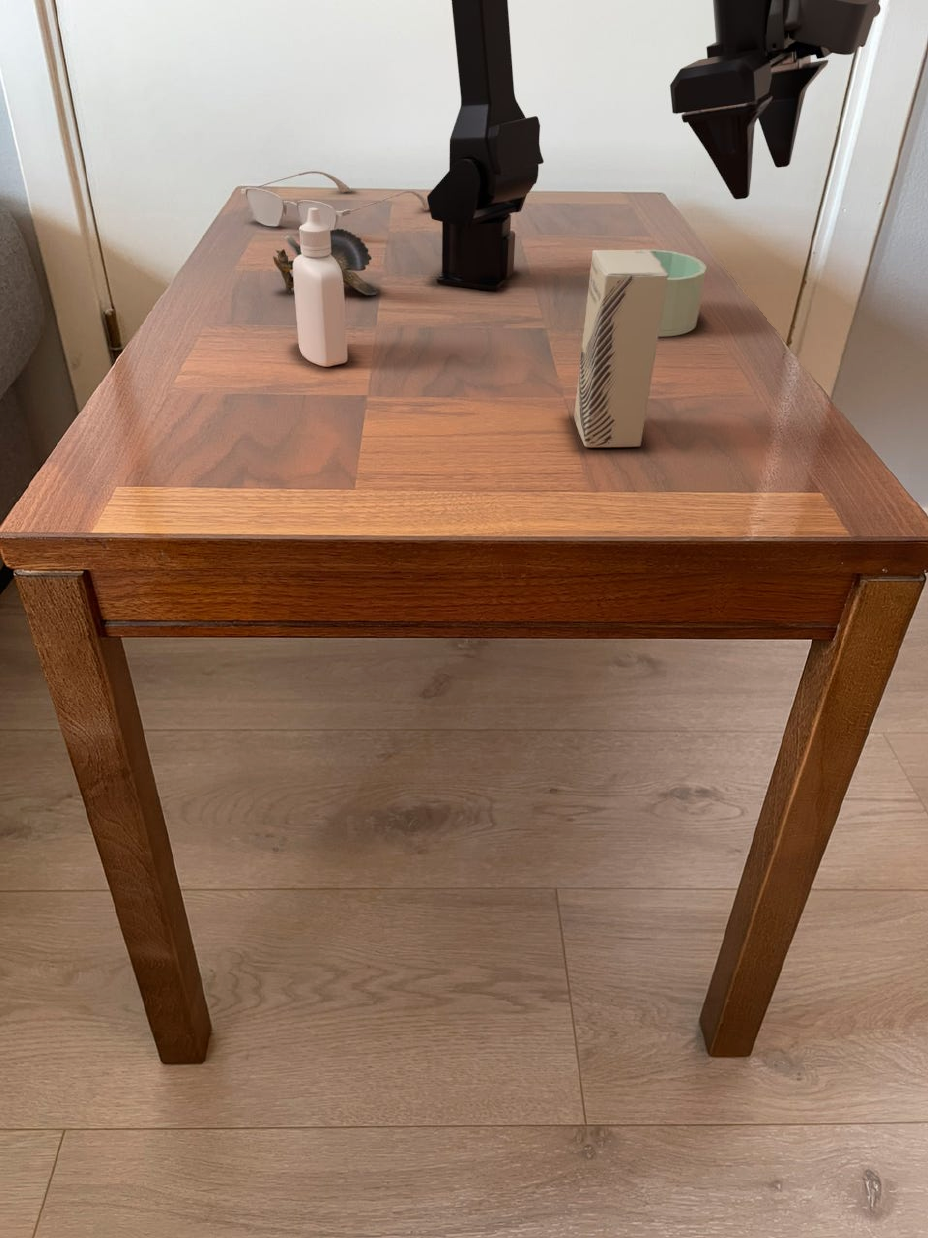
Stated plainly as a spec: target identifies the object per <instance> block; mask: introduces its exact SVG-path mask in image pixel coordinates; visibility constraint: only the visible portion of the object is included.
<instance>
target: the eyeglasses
mask: <svg viewBox="0 0 928 1238" xmlns="http://www.w3.org/2000/svg"><path fill="white" fill-rule="evenodd" d="M308 174H318V175H323V176H325V177H327V178H328V179H330V181H331V180H332V182H334V184H335V186H336V187H337V188H338V191H339V192H341V193H346V192H349V191H350V187H349V186H348V185H347V184H346V183H345V182H343V181H342V180H340V179H339V178H338V177H336V176H333V175H332V174H329V173H326V172H323V171H318V170H310V171H305V172H299V173H298V174H294V175H291V176H286V177H284V178H280V179H277V180H273V181H270V182H266V183H263V184H259V185H257V186H253V187H252V186H248V187H244V188H241V189H240V193H241V194H242V195H245V199H246V202H247V205H248V207H249V210H250V212H251V214H252V216H253V218H254V219H255V221H257V222H258V223H259V224H261V225H263V226H267V227H274V228H275V227H278V226H280V224H281V222H282V220H283V218H284V215H286V216H287V212H288V209H287V208H288V207H287V204H290V205H293V206H295V207H296V213H297V216H298V218H299V222H300V225H303V224H305V223H306V222H307V219H308V211H309V208H318V212H319V216H320V220H321V222H322V223H324V224H326V225H328V226H329V227H330V230H336V227H337V224H338V219H339V218H338V217H341V218H343V217H345V216H349V215H351V212H354V211H357V210H360V209H363V208H366V207H370V206H373V205H375V204H378V203H381V202H384V201H387V200H389V199H392V198H395V197H399V196H400V195H403V194H413V196H414V195H415V196H416V197H417V198H418V199H419V200H420V202H421V205H422V208H423V209H424V211H428V210H430V209H429V205H428V201H427V198H426V197H424V196H423V195H421V194H420V193H418V192H416V191H415V190H411V189H409V190H402V191H400V192H397V193H396V194H394V195H391V196H389V197H386V198H383V199H381V200H378V201H374V202H372V203H369V204H365V205H363V206H360V207H356V208H353V209H349V208H347V209H344V210H336V209H335V208H334V207H333V206H332V205H330V204H327V203H324V202H320V201H316V200H308V199H302V200H299V201H297V203H296V202H295V201H291V200H288V201H287V200H285V201H284V200H283V198H282V197H281V196H280V195H278V194H277V193H275V192H272V191H269V190H266V189H262V188H261V187H264V186H266V185H270V184H273V183H276V182H280V181H284V180H286V179H291V178H293V177H299V176H303V175H308Z"/></svg>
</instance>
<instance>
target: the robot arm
mask: <svg viewBox="0 0 928 1238" xmlns="http://www.w3.org/2000/svg"><path fill="white" fill-rule="evenodd" d="M508 2H509V1H508V0H451V10H452V11H451V12H452V19H453V30H454V40H455V51H456V62H457V70H458V72H457V73H458V81H459V82H458V83H459V90H460V91H459V94H460V108H459V110H458V114H457V117H456V120H455V123H454V126H453V129H452V132H451V135H450V138H449V159H448V161H449V163H448V165H449V166H448V167H449V169H448V171H447V173H446V174H445V175H444V176H443V177H442V178H441V179H440V181H439V182H438V183H437V184H436V185H435V186H434V188H432V190H431V191H430V192H429V194H428V195H427V196H426V200H427V201H428V205H429V209H428V210H429V213H430V217H431V219H432V220H434V221H438V222H441V225H442V226H441V227H442V228H441V272H440V273H439V274H438V275H437V276H436V277H435V282H436V283H437V284H441V285H442V284H443V285H450V286H458V287H466V288H473V289H481V290H487V291H488V290H489V291H497V290H499V289H500V287H501V286H502V285H503V284H504V283H505V282H506V281H507V280H508V279H509V277H510V276H511V275H513V273H514V270H515V269H514V268H515V248H516V232H515V231H514V230H511V222H512V214H514V213H520V212H521V211H522V210H523V206H524V204H525V201H526V198H527V195H528V194H529V193H530V192H531V190H532V189H533V187H534V185H536V184H537V182H538V177H539V165H542V164H544V162H545V161H544V158H543V155H542V151H541V146H540V134H541V124H540V123H541V122H540V118H539V117H538V116H536V115H534V116H530V117H526V116H525V114H524V112H523V110H522V109H521V106H520V105H519V103H518V101H517V99H516V94H515V85H514V83H515V82H514V72H513V71H514V70H513V69H514V68H513V56H512V55H513V54H512V44H511V32H510V31H511V30H510V14H509V3H508ZM712 5H713V21H714V33H715V34H714V35H715V42H714V43H711V44H710V45H709V44H708V46H706V58H701V59H698V60H696V61H694V62H692V63H690V64H688V65H685V66H684V67H682V68H680V69H679V71H678V72H677V74H676V75H675V77H674V78H673V80H672V81H671V83H670V84H669V90H670V91H669V92H670V97H671V98H670V101H671V111H672V114H674V115H678V114H681V115H680V116H681V121H682V123H684V124H687V123H688V125H689V127H690V128H691V130H692V131H693V133H694V134H695V136H696V137H697V138H698V141H699V142H700V143H701V145H702V147H703V148H704V150H705V151H706V153H707V155H708V157H709V158H710V159H711V162H712V163H713V165H714V167H715V168H716V170H717V172H718V174H719V175H720V177H721V178H722V180H723V182H724V185H726V187H727V189H728V191H729V192H730V194H731V196H732V198H733V199H734V200H744V199H747V198H748V197H749V196H750V191H751V183H752V182H751V181H752V172H753V171H752V170H753V157H754V156H753V154H754V142H755V141H754V140H755V126H756V123H757V120H758V122H759V125H760V128H761V131H762V133H763V137H764V140H765V143H766V145H767V149H768V152H769V154H770V156H771V159H772V162H773V164H774V166H775V168H785V167H786V168H787V167H788V166H790V164H791V160H792V156H793V150H794V147H795V143H796V137H797V132H798V127H799V122H800V117H801V113H802V108H803V105H804V100H805V96H806V92H807V90H808V88H809V87H810V85H811V84H812V83H813V82H814V80H815V79H816V78H817V77H818V75H819V74H820V73H822V71H823V70H824V69H825V68H826V67H827V65H828V63H829V59H825V58H827V57H828V56H830V55H831V54H835V55H843V56H849V55H853V54H854V53H856V52H857V51H856V50H857V49H858V48H863V47H865V46H866V44H867V41H868V37H869V34H870V31H871V28H872V25H873V22H874V19H875V18H876V17H878V16H879V14H880V13H881V10H882V9H881V4H880V0H712ZM812 56H815V57H816V59H817V60H818V61H812V59H811V57H812ZM820 59H823V60H820Z"/></svg>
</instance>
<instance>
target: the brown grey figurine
mask: <svg viewBox="0 0 928 1238" xmlns="http://www.w3.org/2000/svg"><path fill="white" fill-rule="evenodd" d="M330 238H331V253H330V254H331V255H332V257H333V258H334V259H335V260H336V261H337V263H338V264H339V266H340V268H341V271H342V275H343V284H347V285H348V286H350V287H352V288H353V289H355V290H357V291H358V292H360V293H361V294H363V295H365V296H374V295H376V296H377V293H378V291H377V290H376V288H375V287H373V286H372V285H370V284H368V283H367V282H366V281H365V280H363V278H361V277H360V276H359V275H358V274H357V273H356V272H362V271H365V270H366V269H367V267H366V266H369V265H370V261H371V260H372V255H371V254H370V253H369V251H370V250H369V248H368V247H367V246H366V243H364V242H363V241H362V239H361V237H358V236H357V235H356V234H354V233H352V232H351V231H348V230H345V229H343V228H335V230H330ZM284 240H285V242H286V243H287V244H288V247H289V249H290V250H292V252H293V253H294V254H295V255H296V257H297V256H299V255H301V254H302V253H301V247H300V243H298V242H297V241H296V240H295V239H294V238H293V237H292V236H291V235H286V236H285V238H284ZM275 252H276V253H277V256H276V255H273V256H272V260H273V262H274V265H275V266H276V267H277V269H278V270H279V272H280V273H281V276H282V279H283V280H284V284H285V292H286V293H290V292H292V290H293V289H294V280H293V274H291V271H293V262H294V260H289V256H288V255H287V251H286V249H284V248H282V249H281V250H278V249H276V250H275Z"/></svg>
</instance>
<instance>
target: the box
mask: <svg viewBox="0 0 928 1238" xmlns="http://www.w3.org/2000/svg"><path fill="white" fill-rule="evenodd" d="M650 250H651V249H594V250H592V253H591V263H590V271H589V281H588V291H587V299H586V306H585V307H586V308H585V318H584V326H583V335H582V345H581V352H580V362H579V370H578V379H577V389H576V396H575V404H574V416H573V417H574V422H575V425H576V428H577V432H578V435H579V437H580V438H581V441H582V443H583V445H584V447H585V448H636V447H641V445H642V440H643V434H644V426H645V423H646V422H645V421H646V414H647V410H648V403H649V396H650V390H651V385H652V377H653V372H654V367H655V360H656V355H657V347H658V342H659V341H658V340H659V337H658V336H659V329H660V323H661V317H662V311H663V305H664V299H665V293H666V286H667V279H668V273H667V272H666V270H665V269H664V267H663V266H662V264H661V262H660V261H659V260H658V259H657V258H656V256H655V255H654V254H653V252H652V251H650Z"/></svg>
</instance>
